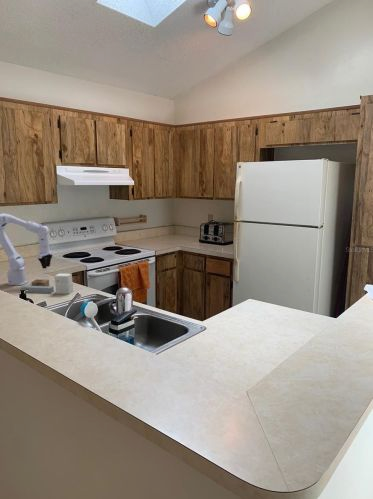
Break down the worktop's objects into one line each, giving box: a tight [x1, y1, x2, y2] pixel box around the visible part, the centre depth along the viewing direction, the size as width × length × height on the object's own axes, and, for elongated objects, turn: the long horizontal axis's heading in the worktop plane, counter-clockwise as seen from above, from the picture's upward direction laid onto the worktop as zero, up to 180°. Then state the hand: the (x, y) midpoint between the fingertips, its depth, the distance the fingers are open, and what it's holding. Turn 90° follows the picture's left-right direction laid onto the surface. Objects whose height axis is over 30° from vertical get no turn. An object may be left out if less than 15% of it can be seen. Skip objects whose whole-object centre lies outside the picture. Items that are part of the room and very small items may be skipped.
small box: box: [54, 273, 74, 295], centre depth 215 cm, size 8×6×10 cm
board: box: [20, 285, 55, 294], centre depth 217 cm, size 18×3×3 cm, turn 83°
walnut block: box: [30, 279, 50, 286], centre depth 226 cm, size 8×6×4 cm
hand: (46, 267), depth 233 cm, fingers open, 4 cm apart
